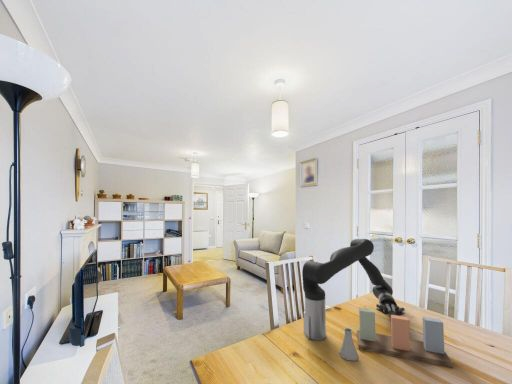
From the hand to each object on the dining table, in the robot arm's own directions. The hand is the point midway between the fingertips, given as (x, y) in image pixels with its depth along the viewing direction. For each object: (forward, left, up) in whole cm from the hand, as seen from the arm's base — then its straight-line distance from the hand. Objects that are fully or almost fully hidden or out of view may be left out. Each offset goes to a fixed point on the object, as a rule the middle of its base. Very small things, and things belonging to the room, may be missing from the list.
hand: (393, 317), depth 108 cm
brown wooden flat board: (-6, -9, -8) cm, 14 cm away
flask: (-29, -9, -8) cm, 31 cm away
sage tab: (-16, -3, -6) cm, 17 cm away
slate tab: (+5, -15, -6) cm, 17 cm away
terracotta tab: (-7, -12, -6) cm, 15 cm away
